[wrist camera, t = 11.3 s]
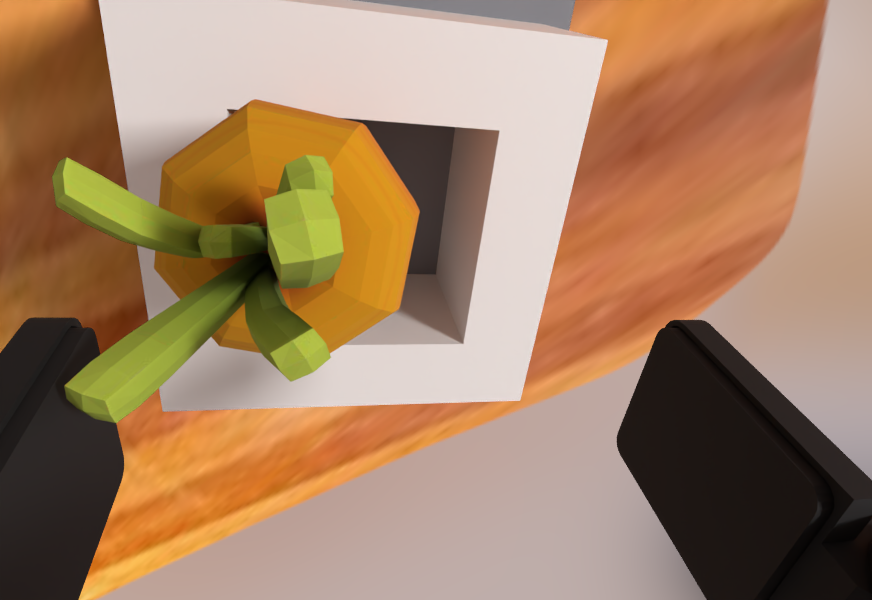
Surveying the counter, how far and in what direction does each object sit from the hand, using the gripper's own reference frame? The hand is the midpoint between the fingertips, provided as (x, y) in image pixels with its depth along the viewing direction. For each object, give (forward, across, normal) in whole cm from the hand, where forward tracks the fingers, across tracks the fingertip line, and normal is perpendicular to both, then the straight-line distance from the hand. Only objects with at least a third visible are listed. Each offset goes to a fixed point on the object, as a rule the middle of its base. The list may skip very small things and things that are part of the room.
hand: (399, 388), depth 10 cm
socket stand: (+14, 0, +1) cm, 14 cm away
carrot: (+12, 0, +1) cm, 12 cm away
